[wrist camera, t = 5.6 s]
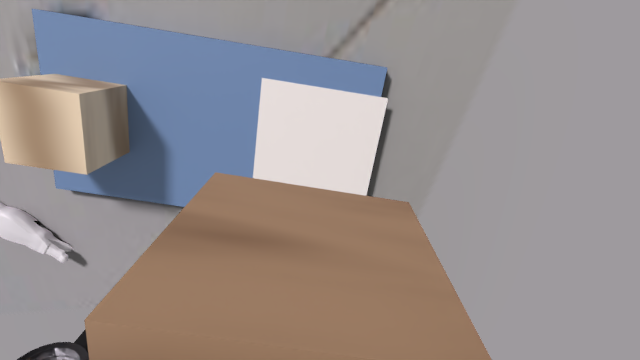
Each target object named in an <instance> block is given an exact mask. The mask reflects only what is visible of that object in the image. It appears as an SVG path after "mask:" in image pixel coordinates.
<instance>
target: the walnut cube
mask: <svg viewBox="0 0 640 360" xmlns="http://www.w3.org/2000/svg"><path fill="white" fill-rule="evenodd" d="M85 328H86V337H87V345H88V354H89V360H491V358H490V356H489V354H488V352H487V350H486V348H485V347H484V344H483V343H482V341H481V339H480V337H479V335H478V333H477V331H476V329H475V327H474V325H473V324H472V322H471V320H470V318H469V316H468V314H467V312H466V310H465V309H464V307H463V305H462V303H461V301H460V299H459V297H458V295H457V293H456V291H455V289H454V288H453V285H452V284H451V282H450V280H449V278H448V276H447V274H446V272H445V270H444V268H443V266H442V265H441V263H440V261H439V259H438V257H437V255H436V253H435V251H434V249H433V247H432V246H431V244H430V242H429V240H428V238H427V236H426V234H425V232H424V230H423V228H422V227H421V225H420V223H419V221H418V219H417V217H416V215H415V213H414V211H413V209H412V208H411V206H410V204H409V202H403V201H397V200H390V199H384V198H377V197H371V196H364V195H358V194H352V193H345V192H339V191H332V190H326V189H320V188H313V187H307V186H300V185H294V184H287V183H281V182H275V181H268V180H262V179H255V178H249V177H242V176H236V175H230V174H223V173H217V172H215V173H214V175H213V176H212V177H211V178H210V179H209V180H208V181H207V182H206V184H205V185H204V186H203V187H202V188H201V189H200V190H199V191H198V193H197V194H196V195H195V196H194V197H193V198H192V199H191V200H190V202H189V203H188V204H187V205H186V206H185V207H184V208H183V210H182V211H181V212H180V213H179V214H178V215H177V216H176V217H175V219H174V220H173V221H172V222H171V223H170V224H169V225H168V226H167V228H166V229H165V230H164V231H163V232H162V233H161V234H160V235H159V237H158V238H157V239H156V240H155V241H154V242H153V243H152V244H151V246H150V247H149V248H148V249H147V250H146V251H145V252H144V253H143V255H142V256H141V257H140V258H139V259H138V260H137V261H136V263H135V264H134V265H133V266H132V267H131V268H130V269H129V270H128V272H127V273H126V274H125V275H124V276H123V277H122V278H121V279H120V281H119V282H118V283H117V284H116V285H115V286H114V287H113V288H112V290H111V291H110V292H109V293H108V294H107V295H106V296H105V297H104V299H103V300H102V301H101V302H100V303H99V304H98V305H97V306H96V308H95V309H94V310H93V311H92V312H91V313H90V314H89V316H88V317H87V318H86V319H85Z"/></svg>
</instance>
